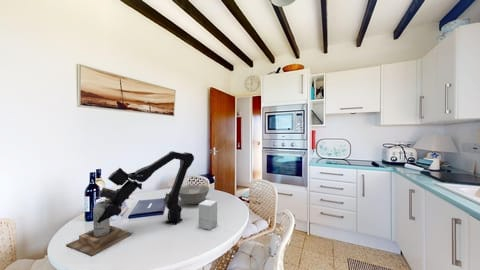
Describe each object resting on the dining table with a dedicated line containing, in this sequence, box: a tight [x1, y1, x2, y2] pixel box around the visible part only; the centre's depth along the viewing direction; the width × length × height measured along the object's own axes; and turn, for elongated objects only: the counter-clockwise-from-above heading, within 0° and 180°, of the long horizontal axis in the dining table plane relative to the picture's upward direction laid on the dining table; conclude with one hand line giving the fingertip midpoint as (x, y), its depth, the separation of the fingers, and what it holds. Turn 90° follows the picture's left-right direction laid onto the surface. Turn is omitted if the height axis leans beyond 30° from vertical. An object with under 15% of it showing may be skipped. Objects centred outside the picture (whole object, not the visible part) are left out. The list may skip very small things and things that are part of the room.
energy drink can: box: [92, 200, 111, 238], centre depth 89 cm, size 6×6×15 cm
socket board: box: [65, 225, 134, 257], centre depth 89 cm, size 18×18×4 cm
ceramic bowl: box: [179, 184, 210, 205], centre depth 136 cm, size 22×23×10 cm
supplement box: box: [198, 199, 218, 231], centre depth 103 cm, size 7×7×13 cm
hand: (97, 219), depth 88 cm, fingers closed on energy drink can, 6 cm apart
